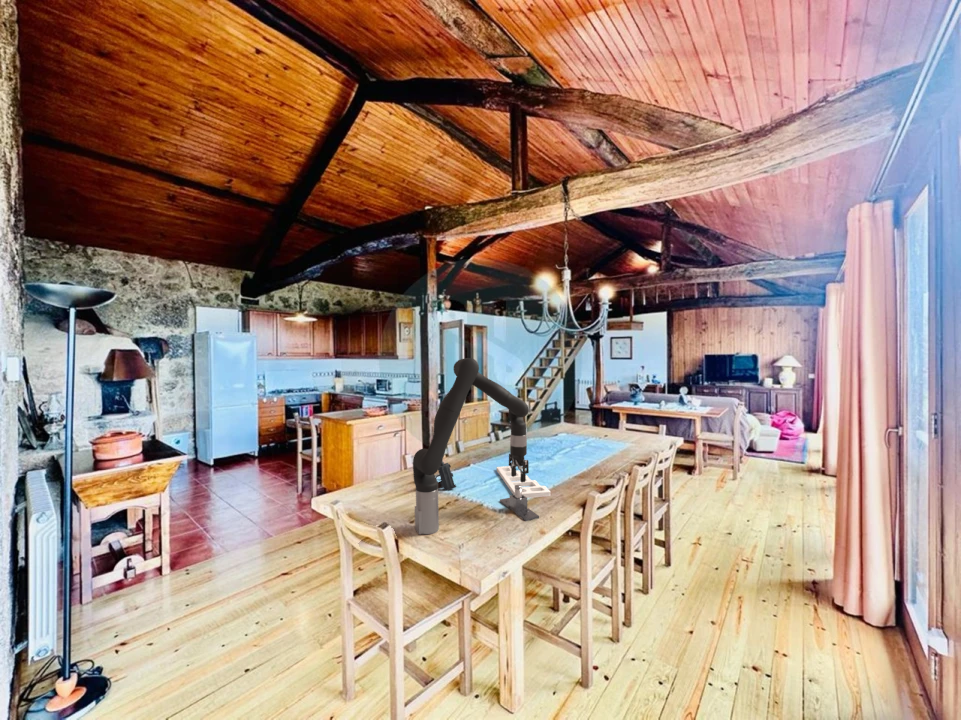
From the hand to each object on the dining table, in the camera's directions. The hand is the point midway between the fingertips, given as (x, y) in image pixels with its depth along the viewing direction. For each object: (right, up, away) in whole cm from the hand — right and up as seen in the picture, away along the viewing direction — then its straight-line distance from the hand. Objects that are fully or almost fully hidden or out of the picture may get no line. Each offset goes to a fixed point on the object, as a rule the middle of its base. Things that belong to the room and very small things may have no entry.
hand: (518, 479), depth 187 cm
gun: (-38, -14, +26) cm, 48 cm away
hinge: (0, -14, +1) cm, 14 cm away
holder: (+5, -13, +38) cm, 40 cm away
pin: (0, -14, +1) cm, 14 cm away
